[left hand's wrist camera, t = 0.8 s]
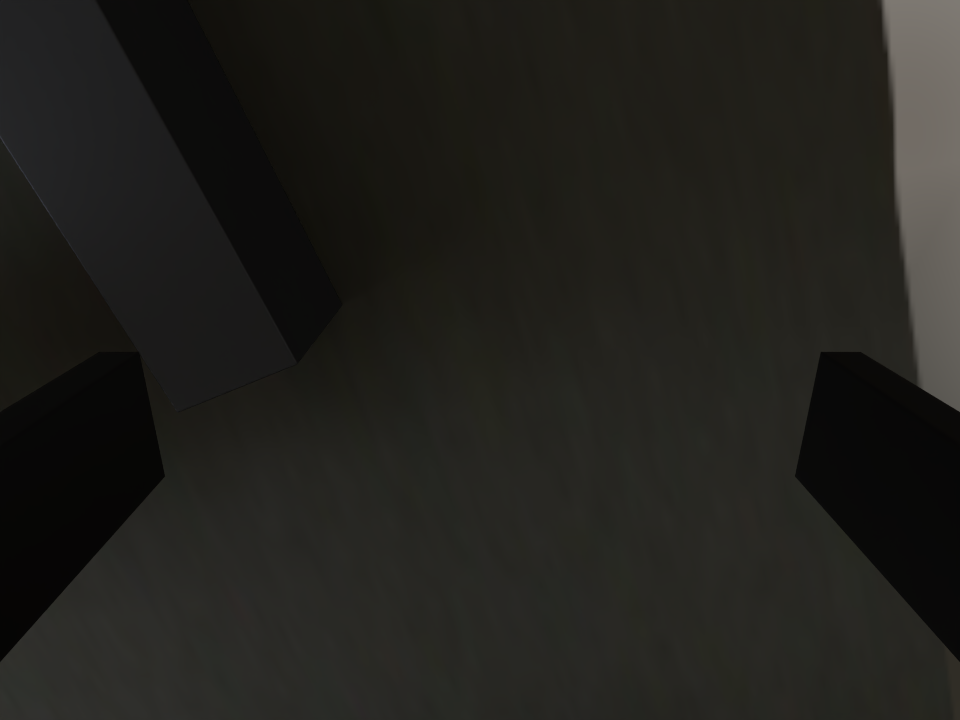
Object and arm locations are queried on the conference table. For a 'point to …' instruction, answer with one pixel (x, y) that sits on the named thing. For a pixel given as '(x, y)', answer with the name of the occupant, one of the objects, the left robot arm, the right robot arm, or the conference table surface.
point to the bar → (161, 189)
